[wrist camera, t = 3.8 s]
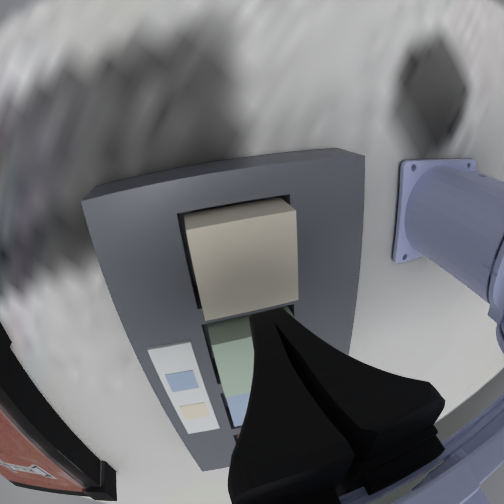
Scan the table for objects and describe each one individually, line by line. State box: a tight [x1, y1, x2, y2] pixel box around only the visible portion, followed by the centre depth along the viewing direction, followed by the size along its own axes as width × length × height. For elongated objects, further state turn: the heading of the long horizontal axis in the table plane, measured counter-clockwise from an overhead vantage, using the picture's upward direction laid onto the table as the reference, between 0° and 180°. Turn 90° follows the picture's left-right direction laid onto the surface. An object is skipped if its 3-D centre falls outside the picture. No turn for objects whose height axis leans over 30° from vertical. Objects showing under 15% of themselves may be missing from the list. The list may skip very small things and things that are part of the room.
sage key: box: [207, 306, 294, 398], centre depth 18 cm, size 5×5×2 cm
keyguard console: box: [81, 148, 365, 471], centre depth 21 cm, size 14×28×3 cm, turn 6°
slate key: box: [226, 392, 250, 427], centre depth 22 cm, size 5×5×2 cm
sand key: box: [184, 198, 298, 321], centre depth 15 cm, size 5×5×2 cm
